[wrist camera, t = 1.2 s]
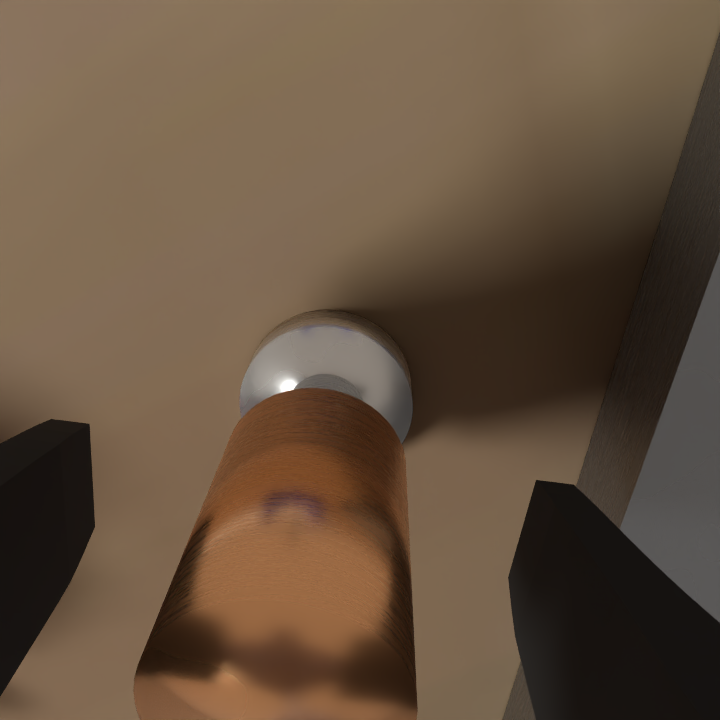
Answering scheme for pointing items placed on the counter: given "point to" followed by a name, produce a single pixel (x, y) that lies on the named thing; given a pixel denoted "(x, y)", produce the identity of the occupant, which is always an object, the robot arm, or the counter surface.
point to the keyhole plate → (668, 388)
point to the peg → (298, 544)
